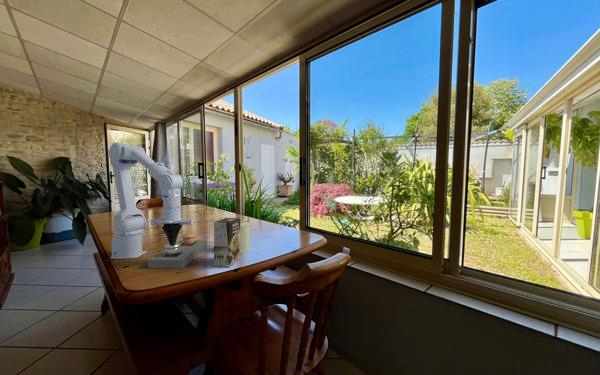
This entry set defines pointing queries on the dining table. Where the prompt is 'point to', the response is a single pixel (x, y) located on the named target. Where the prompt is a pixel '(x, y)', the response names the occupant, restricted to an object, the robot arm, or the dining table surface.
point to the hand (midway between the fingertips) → (172, 244)
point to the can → (244, 237)
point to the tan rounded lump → (188, 239)
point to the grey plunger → (172, 250)
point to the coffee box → (226, 242)
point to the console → (181, 260)
